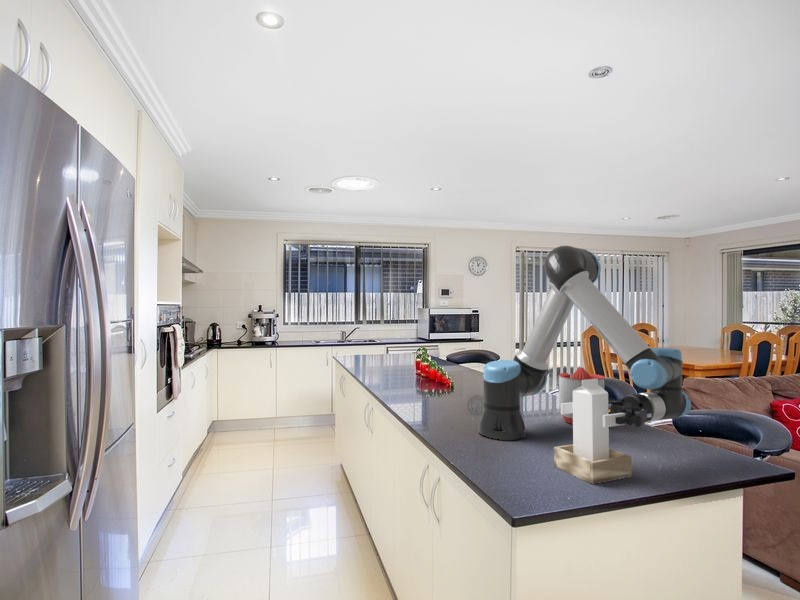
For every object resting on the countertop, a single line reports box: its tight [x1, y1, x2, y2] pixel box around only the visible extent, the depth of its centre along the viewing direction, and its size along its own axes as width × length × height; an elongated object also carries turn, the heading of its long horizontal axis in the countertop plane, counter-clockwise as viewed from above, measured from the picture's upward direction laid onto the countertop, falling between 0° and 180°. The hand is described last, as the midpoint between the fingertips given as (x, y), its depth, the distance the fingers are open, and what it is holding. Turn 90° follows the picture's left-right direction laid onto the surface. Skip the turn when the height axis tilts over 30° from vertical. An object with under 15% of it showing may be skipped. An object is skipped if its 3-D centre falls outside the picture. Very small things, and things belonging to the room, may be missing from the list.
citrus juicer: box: [558, 366, 606, 426], centre depth 158 cm, size 16×17×20 cm
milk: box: [572, 379, 610, 461], centre depth 110 cm, size 6×6×22 cm
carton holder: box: [553, 443, 632, 485], centre depth 109 cm, size 13×13×5 cm
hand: (581, 414), depth 108 cm, fingers open, 13 cm apart
